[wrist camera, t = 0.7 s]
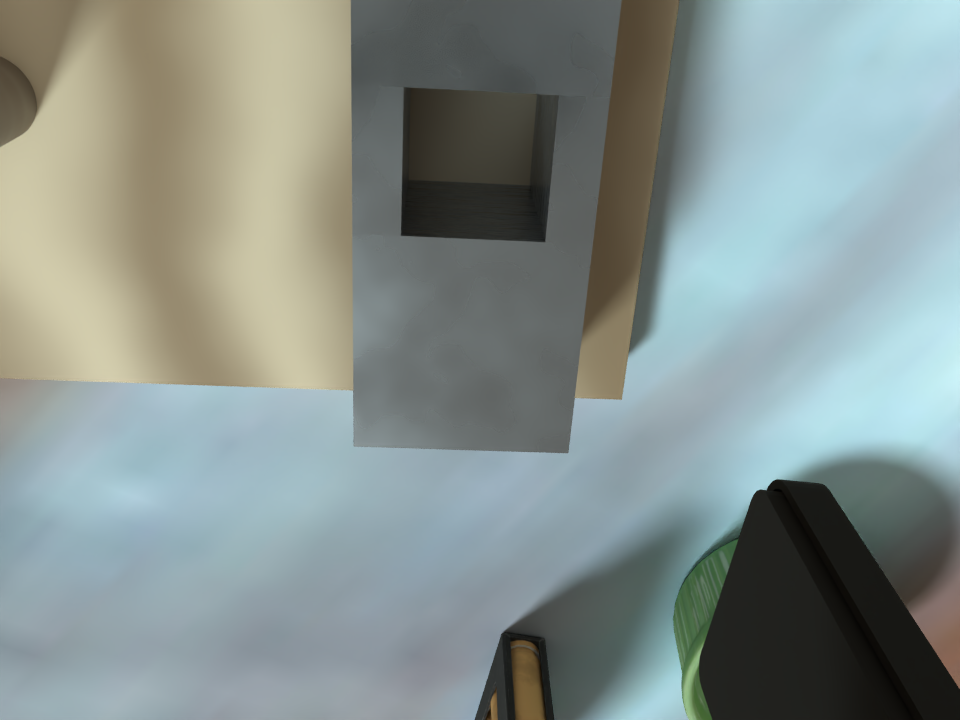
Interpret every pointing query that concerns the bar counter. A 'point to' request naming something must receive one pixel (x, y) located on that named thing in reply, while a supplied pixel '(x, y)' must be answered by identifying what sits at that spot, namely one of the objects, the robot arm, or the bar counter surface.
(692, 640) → the ramekin
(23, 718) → the bar counter surface
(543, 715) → the ammunition clip
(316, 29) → the board
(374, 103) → the grey rectangular block
